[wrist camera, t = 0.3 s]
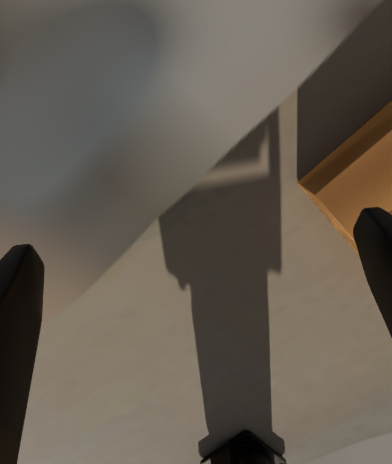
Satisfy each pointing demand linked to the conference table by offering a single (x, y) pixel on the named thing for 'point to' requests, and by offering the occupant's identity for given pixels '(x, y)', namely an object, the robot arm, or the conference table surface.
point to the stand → (355, 175)
